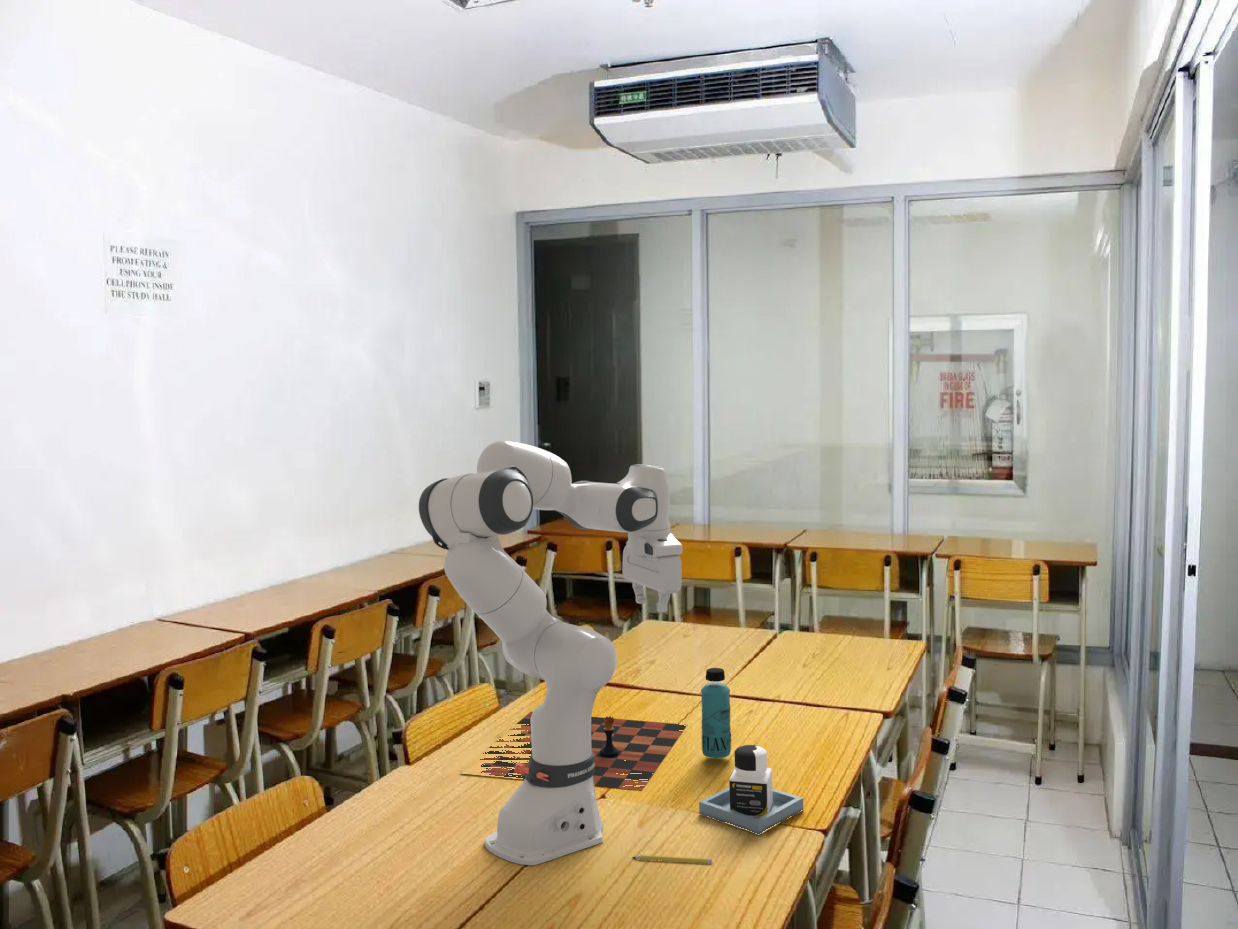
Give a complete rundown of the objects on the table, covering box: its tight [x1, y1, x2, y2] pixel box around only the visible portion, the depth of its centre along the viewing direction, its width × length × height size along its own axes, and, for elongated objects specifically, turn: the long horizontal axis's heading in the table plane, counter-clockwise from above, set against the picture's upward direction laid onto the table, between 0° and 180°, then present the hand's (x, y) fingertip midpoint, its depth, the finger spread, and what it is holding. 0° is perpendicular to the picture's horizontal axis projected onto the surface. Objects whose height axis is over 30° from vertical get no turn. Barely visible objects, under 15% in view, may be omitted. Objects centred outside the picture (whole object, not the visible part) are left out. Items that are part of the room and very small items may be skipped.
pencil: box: [631, 854, 713, 865], centre depth 181 cm, size 1×14×1 cm, turn 80°
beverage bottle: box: [700, 667, 732, 759], centre depth 226 cm, size 6×7×20 cm
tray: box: [698, 786, 804, 834], centre depth 199 cm, size 14×14×2 cm
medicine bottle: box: [728, 744, 773, 818], centre depth 199 cm, size 7×7×12 cm
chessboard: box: [480, 711, 687, 792], centre depth 236 cm, size 40×40×11 cm
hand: (651, 607), depth 218 cm, fingers open, 8 cm apart
